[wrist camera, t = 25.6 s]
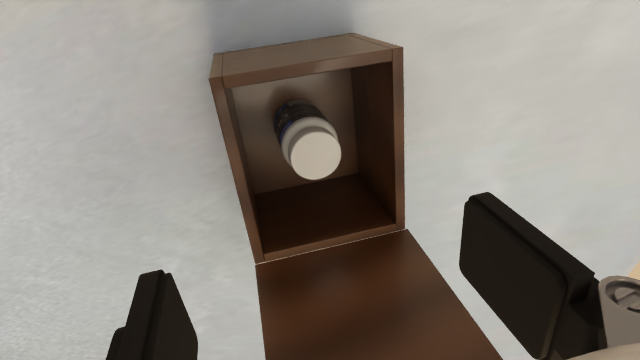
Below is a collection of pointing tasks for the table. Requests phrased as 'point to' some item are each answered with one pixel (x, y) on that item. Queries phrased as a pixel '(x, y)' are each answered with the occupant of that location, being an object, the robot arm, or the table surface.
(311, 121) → the pill bottle
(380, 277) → the lid
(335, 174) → the chest
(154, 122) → the table surface
